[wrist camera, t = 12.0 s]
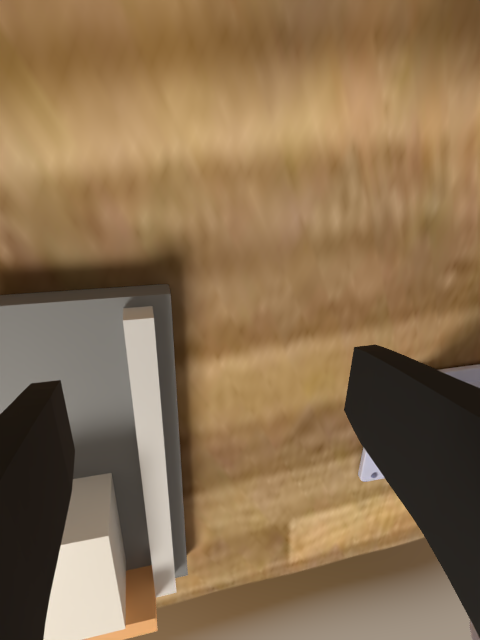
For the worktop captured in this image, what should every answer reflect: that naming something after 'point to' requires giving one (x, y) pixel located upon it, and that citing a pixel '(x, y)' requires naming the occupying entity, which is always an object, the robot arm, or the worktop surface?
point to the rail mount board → (112, 415)
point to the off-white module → (89, 566)
